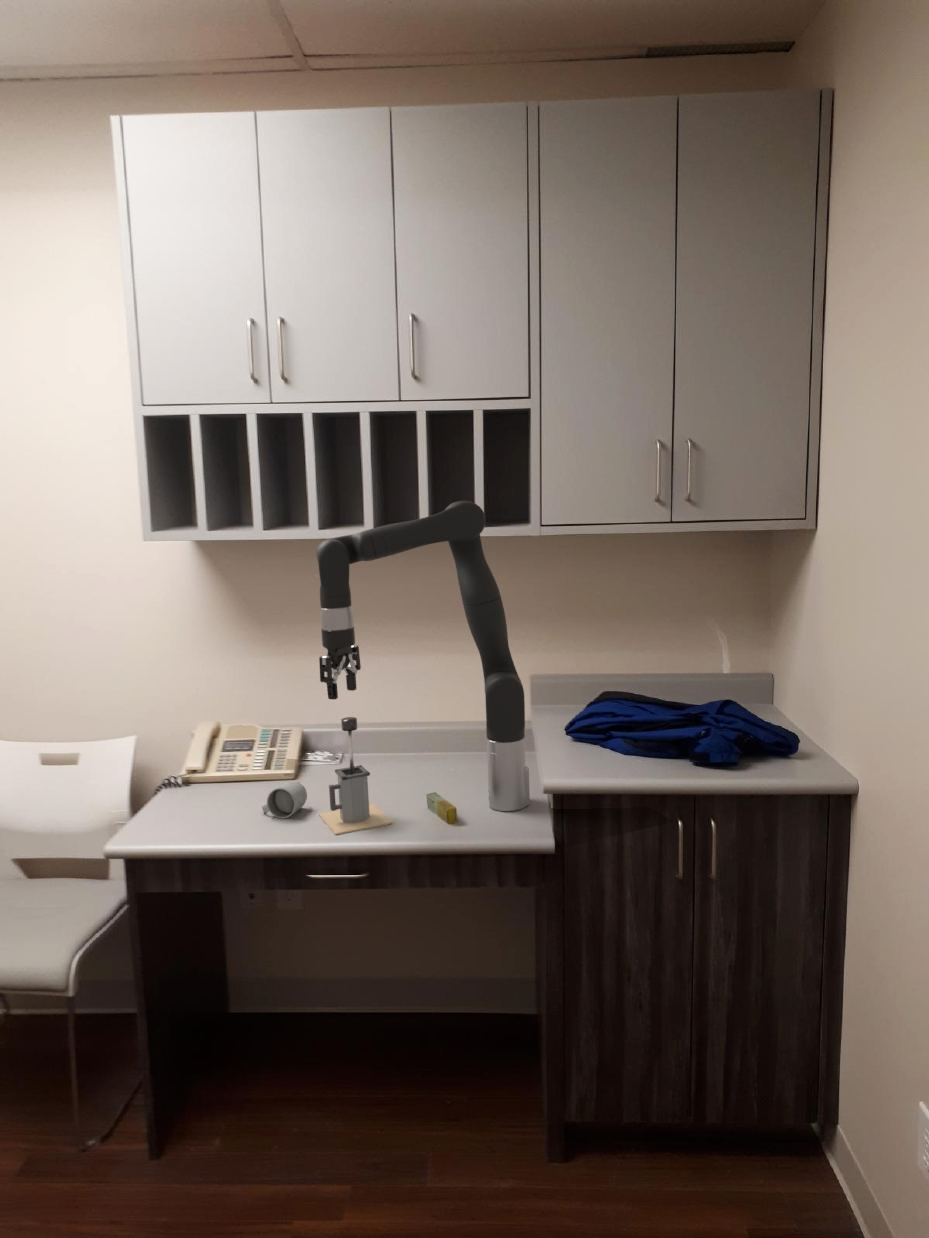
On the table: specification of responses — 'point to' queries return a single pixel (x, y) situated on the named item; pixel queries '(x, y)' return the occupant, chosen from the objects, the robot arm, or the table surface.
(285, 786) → the ceramic mug
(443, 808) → the medication box
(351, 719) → the plunger
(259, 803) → the table surface
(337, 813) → the carafe
